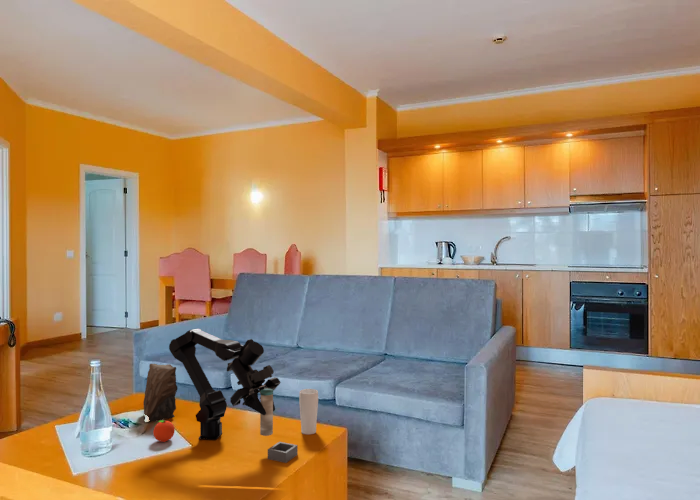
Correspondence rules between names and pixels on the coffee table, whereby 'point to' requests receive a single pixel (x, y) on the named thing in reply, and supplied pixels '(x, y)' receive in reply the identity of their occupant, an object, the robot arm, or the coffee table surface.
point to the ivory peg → (266, 419)
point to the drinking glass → (308, 410)
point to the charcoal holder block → (282, 452)
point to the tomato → (163, 431)
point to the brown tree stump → (160, 392)
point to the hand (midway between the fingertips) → (269, 412)
